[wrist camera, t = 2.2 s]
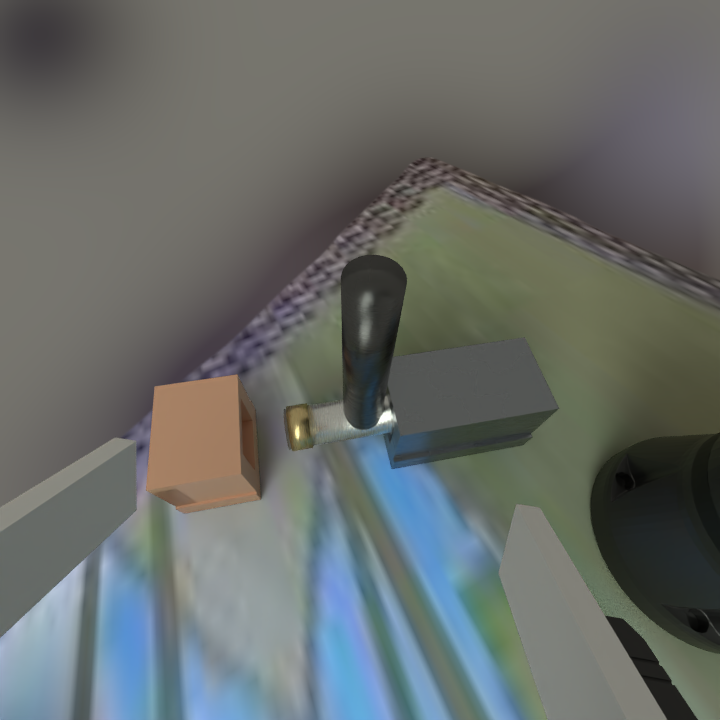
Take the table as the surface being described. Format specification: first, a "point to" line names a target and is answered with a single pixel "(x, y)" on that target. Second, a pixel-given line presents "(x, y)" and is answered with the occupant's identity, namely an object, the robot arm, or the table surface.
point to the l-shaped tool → (358, 358)
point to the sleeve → (465, 401)
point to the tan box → (203, 445)
